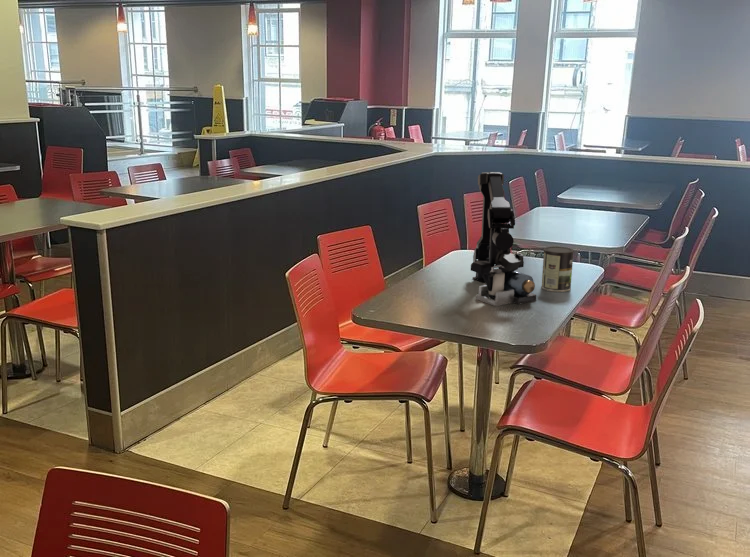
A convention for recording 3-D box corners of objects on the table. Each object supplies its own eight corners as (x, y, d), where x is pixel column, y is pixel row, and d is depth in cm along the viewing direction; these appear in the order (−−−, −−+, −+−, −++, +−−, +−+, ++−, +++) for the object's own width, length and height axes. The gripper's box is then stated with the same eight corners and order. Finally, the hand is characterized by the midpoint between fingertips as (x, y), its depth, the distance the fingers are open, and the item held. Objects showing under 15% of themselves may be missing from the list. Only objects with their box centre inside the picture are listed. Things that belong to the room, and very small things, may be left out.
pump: (485, 292, 231) (486, 268, 229) (496, 290, 234) (497, 267, 232) (495, 296, 227) (496, 272, 225) (506, 294, 230) (508, 270, 228)
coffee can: (569, 285, 250) (572, 247, 247) (571, 293, 241) (575, 253, 237) (540, 283, 252) (543, 245, 249) (541, 291, 243) (544, 251, 239)
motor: (471, 297, 235) (472, 271, 232) (506, 290, 243) (508, 265, 241) (502, 308, 223) (503, 281, 220) (538, 301, 231) (539, 275, 229)
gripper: (494, 251, 215) (491, 300, 219) (537, 245, 225) (534, 291, 229) (470, 245, 224) (468, 291, 228) (513, 239, 234) (510, 283, 238)
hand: (496, 289), depth 230 cm, fingers closed on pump, 5 cm apart
